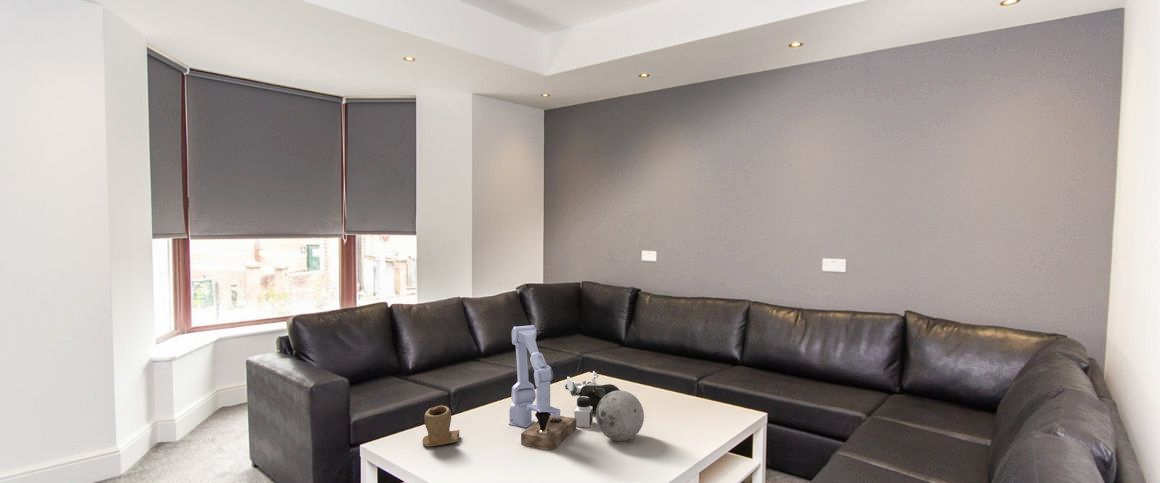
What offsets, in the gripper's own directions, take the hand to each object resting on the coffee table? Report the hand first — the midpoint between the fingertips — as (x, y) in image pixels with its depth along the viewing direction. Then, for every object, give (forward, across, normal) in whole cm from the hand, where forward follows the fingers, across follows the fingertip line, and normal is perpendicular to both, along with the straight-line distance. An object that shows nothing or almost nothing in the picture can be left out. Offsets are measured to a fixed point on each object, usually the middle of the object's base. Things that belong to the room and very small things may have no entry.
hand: (543, 429), depth 216 cm
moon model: (+5, +28, +15) cm, 32 cm away
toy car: (+6, -10, +68) cm, 69 cm away
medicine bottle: (+5, +8, +24) cm, 26 cm away
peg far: (+1, 0, +12) cm, 12 cm away
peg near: (+5, 0, 0) cm, 5 cm away
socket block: (+5, 0, +6) cm, 8 cm away
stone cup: (+5, -37, -18) cm, 41 cm away
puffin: (+5, +8, +44) cm, 45 cm away
